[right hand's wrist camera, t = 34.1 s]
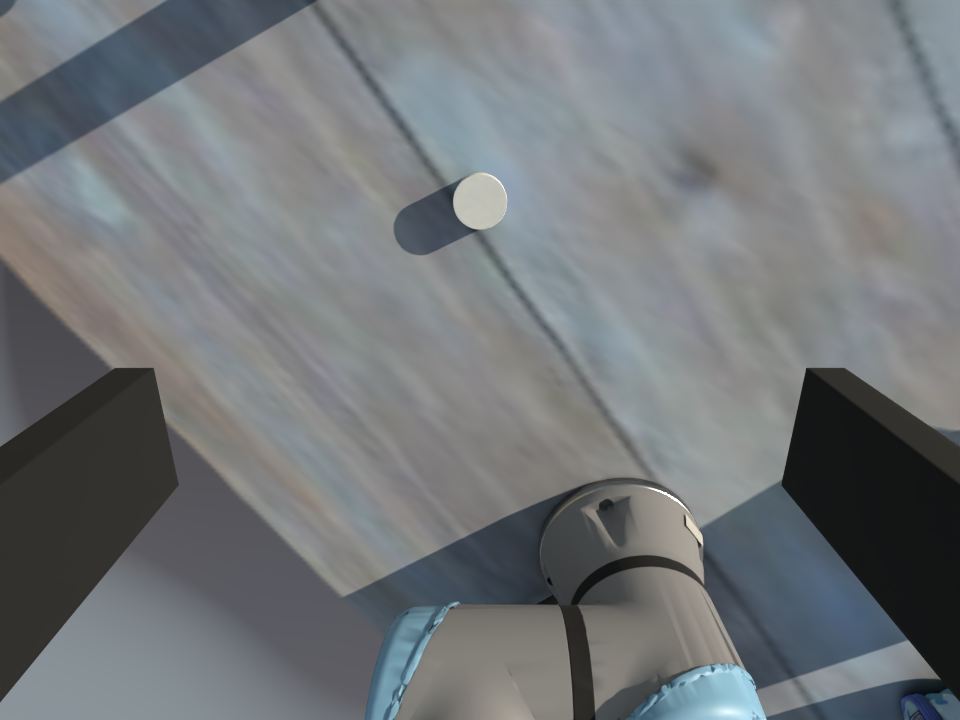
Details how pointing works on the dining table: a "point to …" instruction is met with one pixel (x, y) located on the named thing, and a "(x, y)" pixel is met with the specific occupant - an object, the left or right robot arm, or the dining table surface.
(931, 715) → the lunch box
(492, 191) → the cap
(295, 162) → the dining table surface
